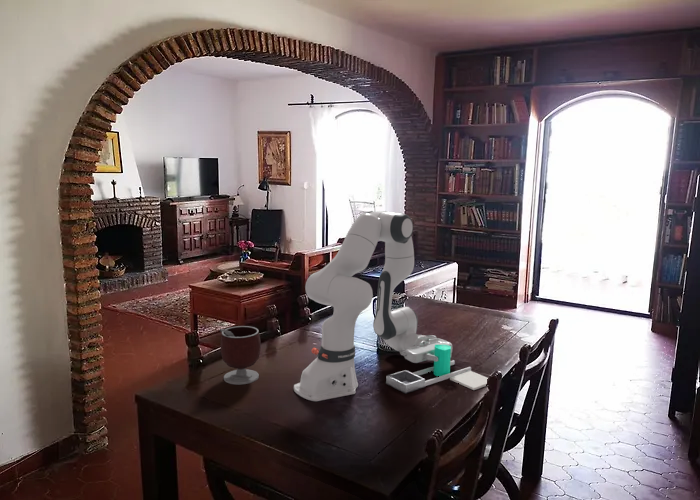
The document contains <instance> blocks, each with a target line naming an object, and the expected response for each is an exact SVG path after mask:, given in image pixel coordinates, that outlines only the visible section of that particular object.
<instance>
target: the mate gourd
mask: <svg viewBox="0 0 700 500" xmlns="http://www.w3.org/2000/svg"><path fill="white" fill-rule="evenodd" d="M219 332H221V337H220V353H221V358H222V360H223V362H224V363H225V365H227V367H229V368H232V369H234V370H231V371H229V372H227V373H225V374H224V375H223V380H224V382H225V383H228V384H230V385H239V386H240V385H246V384H247V385H248V384H252V383H254V382H256V381H257V380H259V373H258V371H256V370H252V369H247V368H249V367H253V366H254V365H255V364H256V362H257V361H258V360H259V359H260V355H261V354H260V353H261V347H262V346H261V343H262V342H261V335H260V331H259V328H257V327H255V326H248V325H238V326H232V327H228V328H225V329H224V328H223V329H222V328H220V329H219Z"/></svg>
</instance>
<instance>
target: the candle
mask: <svg viewBox="0 0 700 500" xmlns="http://www.w3.org/2000/svg"><path fill="white" fill-rule="evenodd" d="M451 354H452V353H451V346H449V345H435V350H434V355H436V356H438V357H439V361H437V362H435V361H433V366H434V371H433V375H434V376H436V377H438V376H443V375H446V374H449V373H451V366H450V361H451V358H452V355H451Z"/></svg>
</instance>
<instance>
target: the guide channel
mask: <svg viewBox="0 0 700 500" xmlns="http://www.w3.org/2000/svg"><path fill="white" fill-rule="evenodd" d="M455 361H456V360H454V359H452V360H450V367H451V366H454V365H455V364H456V362H455ZM431 371H432V372H434V365H433V366H431V367H427V368H424V369H420V370H417V371H414V372H413V371H412V373H413V374H415V375H417V376H422V375H425V374H428V372H429V373H431ZM469 371H472V367H471V366H468V367H465V368H462V369H458V370H455V371H452V372H450V373H449V374H446V375H443V376H439V377H438V376H436V377H434V378H430V379H427V380H425V387H426V386H430V385H433V384H436V383H438V382H442V381H445V380H448V379H450V377H454V376H457V375H460V374H463V373H466V372H469Z"/></svg>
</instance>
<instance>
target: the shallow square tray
mask: <svg viewBox="0 0 700 500" xmlns="http://www.w3.org/2000/svg"><path fill="white" fill-rule="evenodd" d="M385 376H386V379H385V380H386V381H385V384H386V385H388V386H389V387H392V388H394V389H395V390H398V391H400V392H401V393H403V394H409V393H412V392H415V391H418V390H420V389H424V388H425V387H426V386H425V381H426V379H425V378H423V377H422V376H421V375H419V376H417V375H415V374H413V372H411V371H409V370H406V369H405V370H402V371H397V372H395V373H390V374H387V375H385Z"/></svg>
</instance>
